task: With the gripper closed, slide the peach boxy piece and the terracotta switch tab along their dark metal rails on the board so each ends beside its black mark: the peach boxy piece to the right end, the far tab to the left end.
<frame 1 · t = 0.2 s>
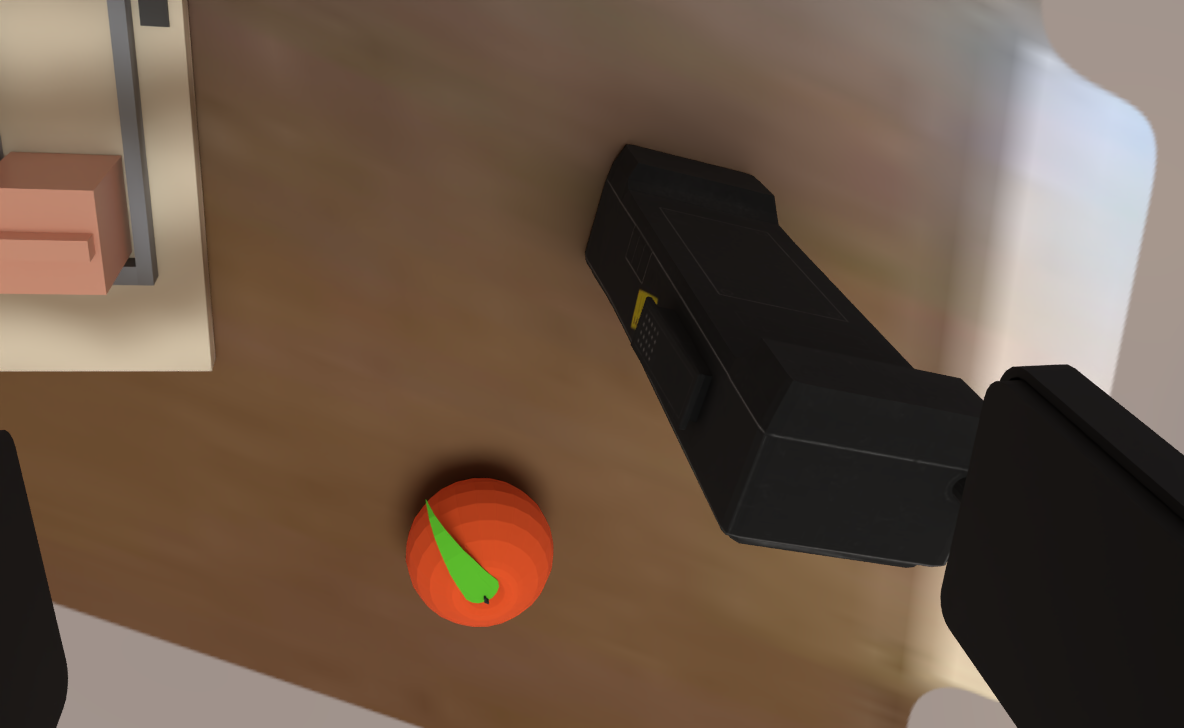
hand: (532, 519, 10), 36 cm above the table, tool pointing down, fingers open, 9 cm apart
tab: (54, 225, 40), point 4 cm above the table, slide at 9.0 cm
portable radio: (657, 218, 49), on the table
clementine: (468, 500, 54), on the table
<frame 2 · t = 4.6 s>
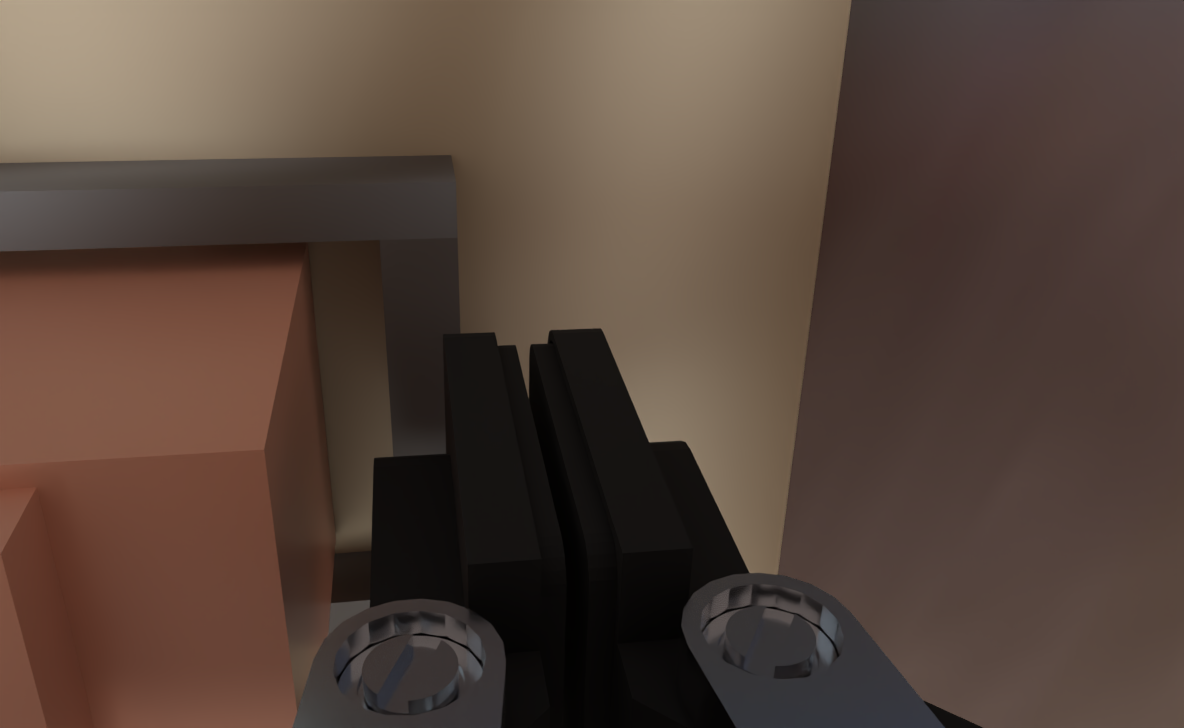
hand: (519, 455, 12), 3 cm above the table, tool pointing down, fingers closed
peach boxy piece: (87, 544, 10), point 4 cm above the table, slide at 0.5 cm, touching gripper
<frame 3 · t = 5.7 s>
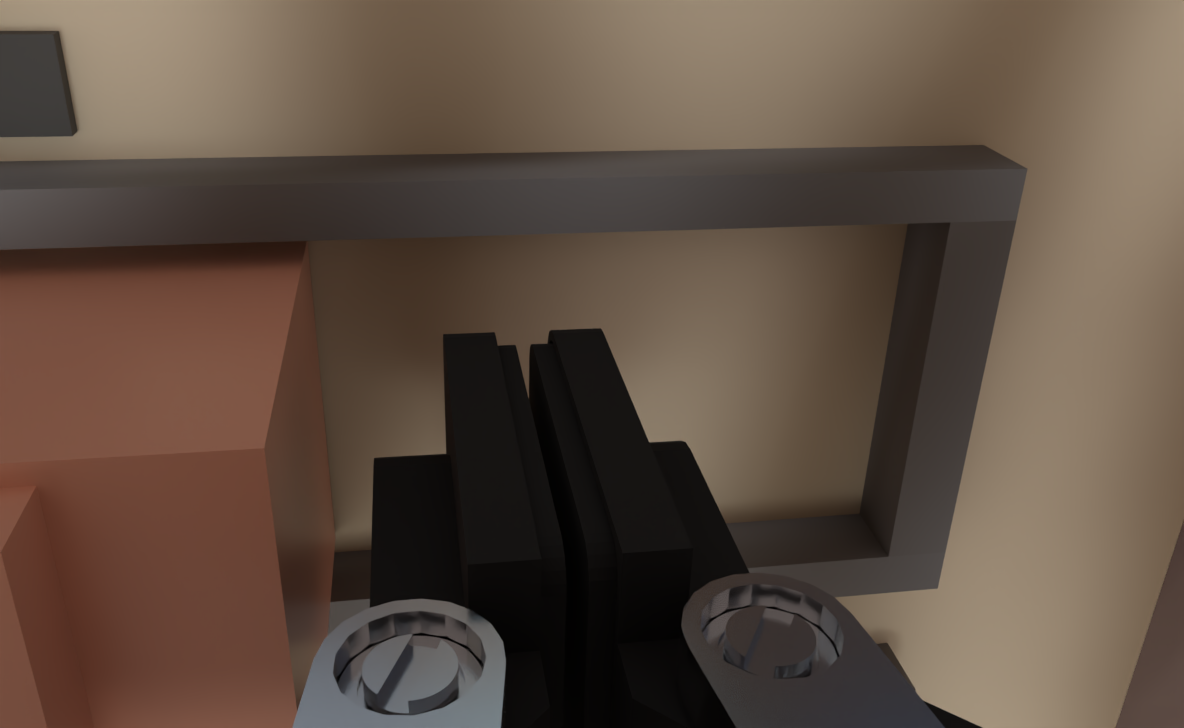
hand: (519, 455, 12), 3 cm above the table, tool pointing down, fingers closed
switch board: (370, 585, 16), on the table
peach boxy piece: (87, 543, 10), point 4 cm above the table, slide at 6.8 cm, touching gripper
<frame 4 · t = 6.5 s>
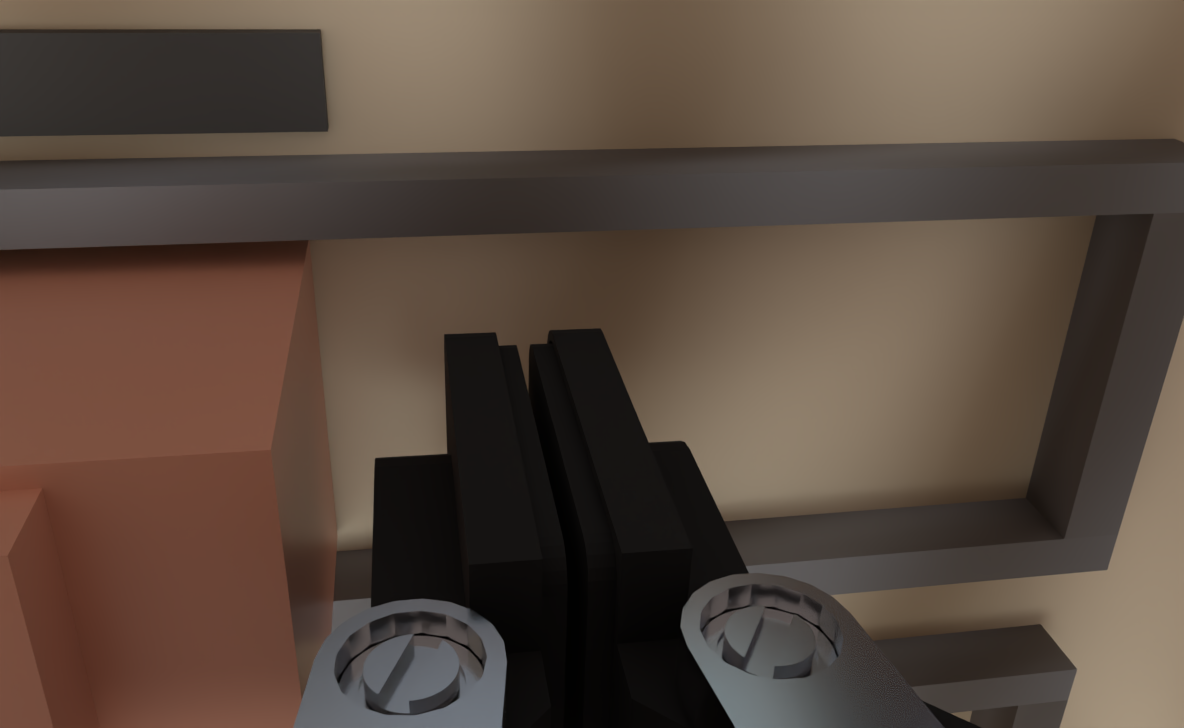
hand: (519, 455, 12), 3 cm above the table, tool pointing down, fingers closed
switch board: (542, 569, 16), on the table
peach boxy piece: (90, 544, 10), point 4 cm above the table, slide at 9.3 cm, touching gripper, switch board
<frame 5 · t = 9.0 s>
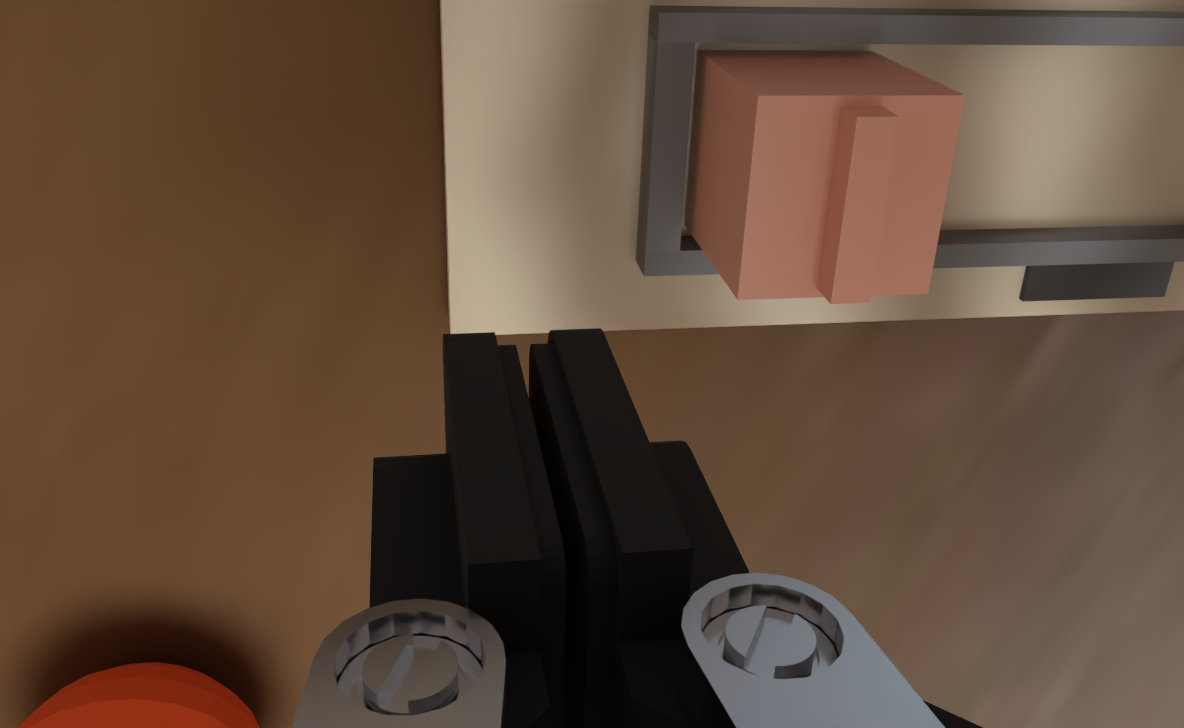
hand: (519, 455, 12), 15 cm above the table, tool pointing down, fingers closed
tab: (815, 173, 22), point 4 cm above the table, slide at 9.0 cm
clementine: (177, 689, 31), on the table
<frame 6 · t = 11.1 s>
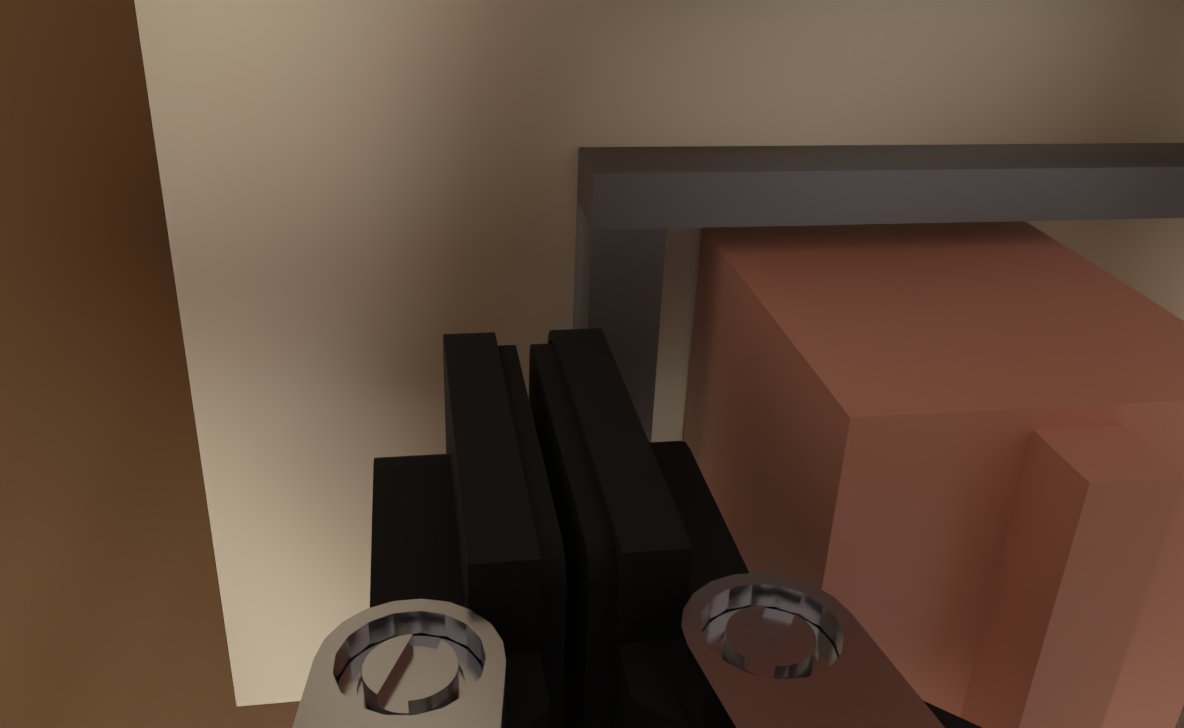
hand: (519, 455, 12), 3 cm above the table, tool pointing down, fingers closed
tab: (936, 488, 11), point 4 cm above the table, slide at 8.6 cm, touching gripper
switch board: (1155, 48, 14), on the table
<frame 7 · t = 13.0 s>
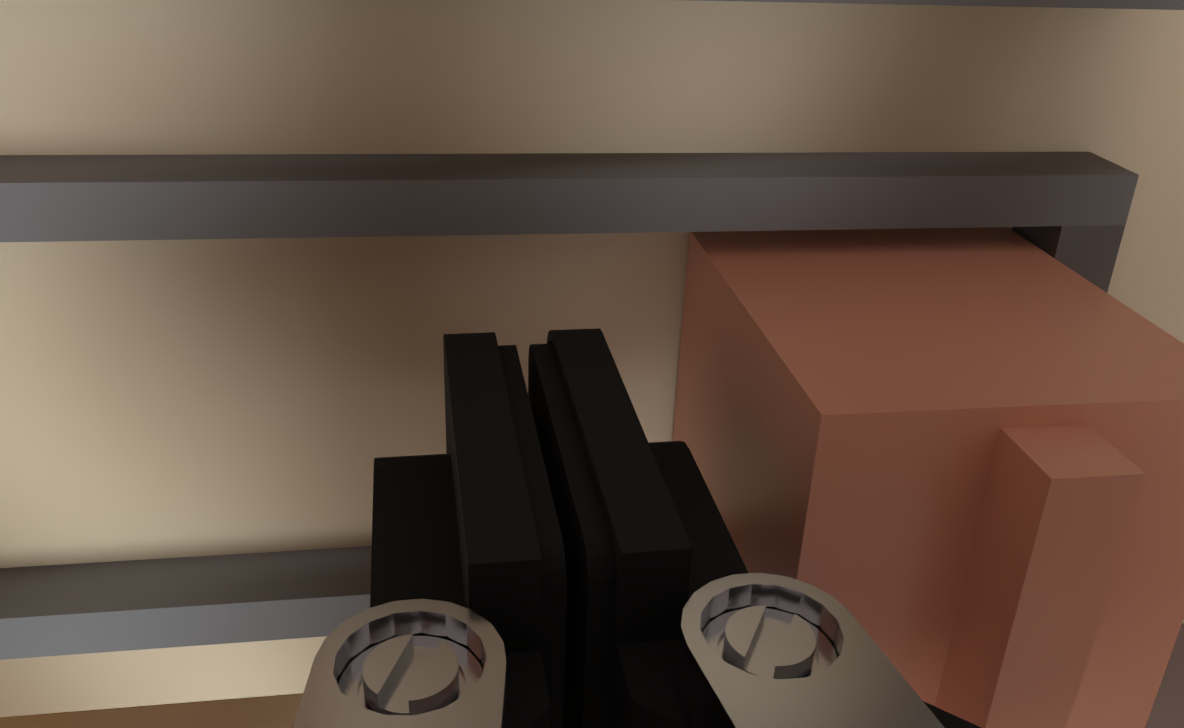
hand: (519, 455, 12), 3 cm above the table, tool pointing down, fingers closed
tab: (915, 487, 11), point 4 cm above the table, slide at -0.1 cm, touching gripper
switch board: (456, 50, 13), on the table
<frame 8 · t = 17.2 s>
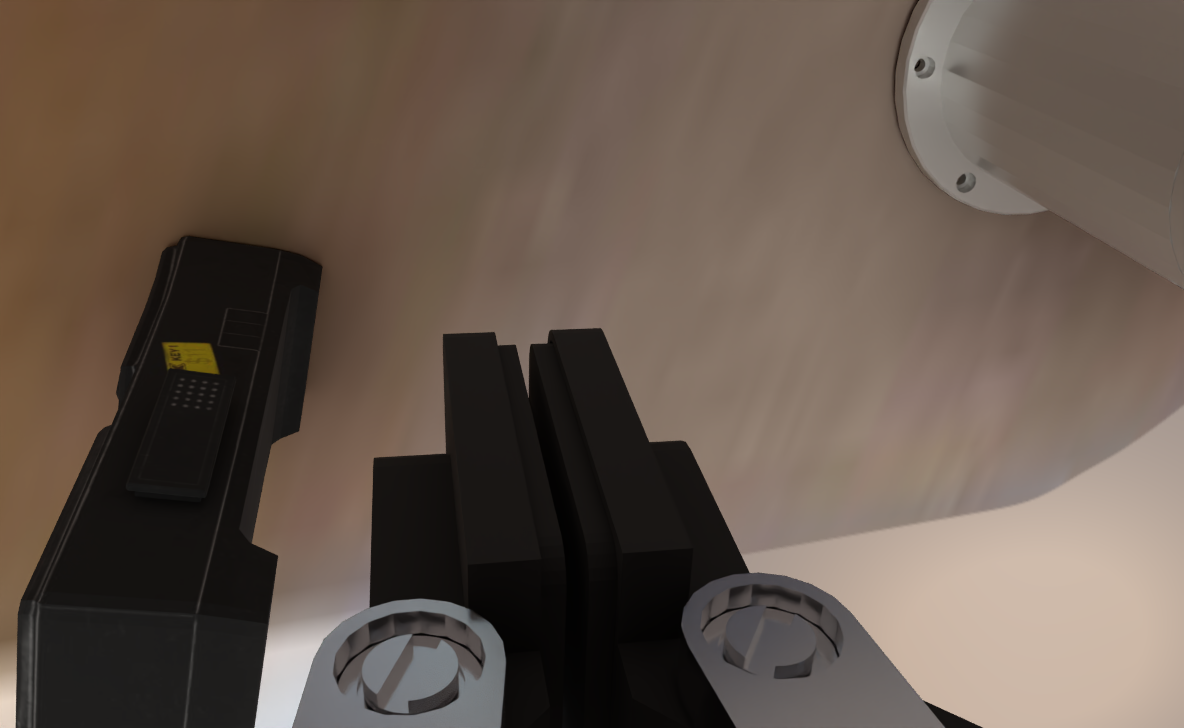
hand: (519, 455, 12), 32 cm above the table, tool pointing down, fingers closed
portable radio: (240, 307, 44), on the table
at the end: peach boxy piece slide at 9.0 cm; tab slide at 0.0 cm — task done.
